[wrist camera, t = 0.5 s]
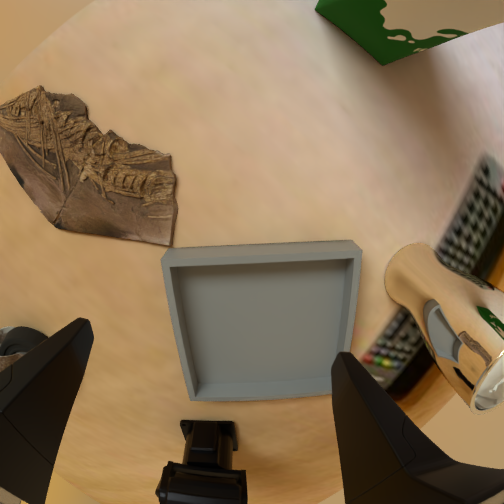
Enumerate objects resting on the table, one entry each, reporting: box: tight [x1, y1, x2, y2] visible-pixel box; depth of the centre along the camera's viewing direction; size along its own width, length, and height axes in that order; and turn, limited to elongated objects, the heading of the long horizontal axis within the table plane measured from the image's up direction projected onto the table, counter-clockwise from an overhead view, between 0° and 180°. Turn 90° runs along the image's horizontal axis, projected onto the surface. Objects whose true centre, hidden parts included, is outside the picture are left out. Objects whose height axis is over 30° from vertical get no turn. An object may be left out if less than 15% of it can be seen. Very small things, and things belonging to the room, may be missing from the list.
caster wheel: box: [0, 326, 48, 372], centre depth 26 cm, size 7×11×10 cm
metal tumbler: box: [385, 243, 504, 415], centre depth 18 cm, size 7×7×15 cm
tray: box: [161, 240, 362, 401], centre depth 26 cm, size 15×15×2 cm
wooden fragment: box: [0, 85, 178, 245], centre depth 21 cm, size 26×11×1 cm, turn 54°
